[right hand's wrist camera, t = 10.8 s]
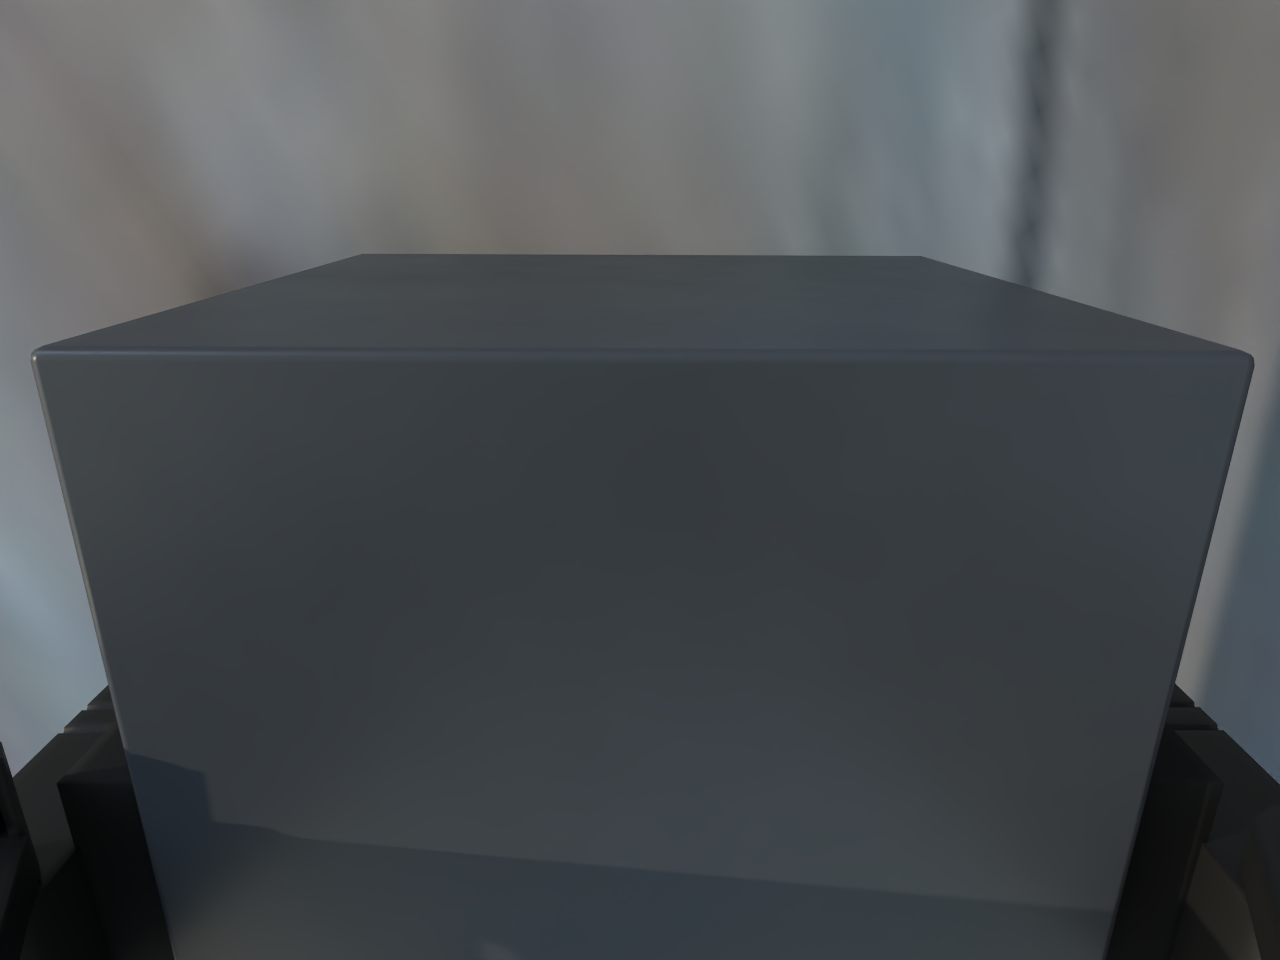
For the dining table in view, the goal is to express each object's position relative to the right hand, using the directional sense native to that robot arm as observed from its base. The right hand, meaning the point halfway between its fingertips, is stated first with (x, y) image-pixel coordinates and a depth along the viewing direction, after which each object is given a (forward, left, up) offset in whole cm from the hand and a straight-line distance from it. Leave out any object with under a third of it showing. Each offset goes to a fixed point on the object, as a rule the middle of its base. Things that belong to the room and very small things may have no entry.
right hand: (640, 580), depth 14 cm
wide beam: (+11, +20, -1) cm, 23 cm away
